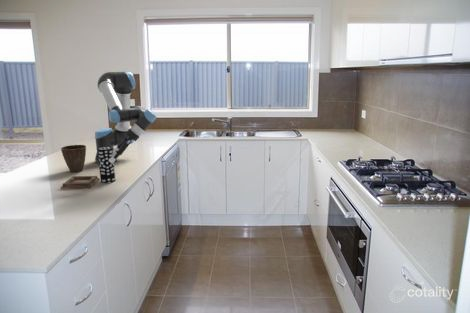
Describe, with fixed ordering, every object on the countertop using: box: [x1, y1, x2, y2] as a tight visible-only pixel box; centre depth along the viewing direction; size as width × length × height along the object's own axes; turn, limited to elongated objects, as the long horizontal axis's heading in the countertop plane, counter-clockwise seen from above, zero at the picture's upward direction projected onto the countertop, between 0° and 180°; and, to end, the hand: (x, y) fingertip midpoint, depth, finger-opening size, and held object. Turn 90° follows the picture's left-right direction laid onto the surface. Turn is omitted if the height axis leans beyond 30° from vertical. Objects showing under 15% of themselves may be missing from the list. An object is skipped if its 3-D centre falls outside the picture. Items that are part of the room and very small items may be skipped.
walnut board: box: [60, 175, 101, 190], centre depth 205 cm, size 16×16×3 cm
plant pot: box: [60, 144, 87, 173], centre depth 231 cm, size 15×15×16 cm
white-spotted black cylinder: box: [96, 147, 116, 184], centre depth 208 cm, size 8×8×20 cm
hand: (110, 159), depth 207 cm, fingers open, 13 cm apart
